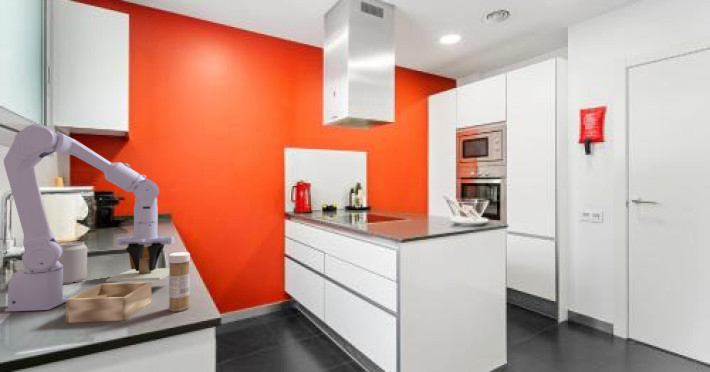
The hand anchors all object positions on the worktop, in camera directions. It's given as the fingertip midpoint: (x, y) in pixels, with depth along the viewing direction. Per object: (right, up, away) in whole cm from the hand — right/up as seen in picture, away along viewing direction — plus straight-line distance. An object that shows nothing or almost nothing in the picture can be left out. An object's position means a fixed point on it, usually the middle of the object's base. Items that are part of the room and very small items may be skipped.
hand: (145, 270), depth 95 cm
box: (+2, -6, -16) cm, 17 cm away
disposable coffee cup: (-11, -6, +17) cm, 21 cm away
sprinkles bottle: (+17, -6, -14) cm, 23 cm away
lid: (0, -1, -1) cm, 1 cm away
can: (-28, -6, +9) cm, 30 cm away
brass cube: (0, -6, -18) cm, 19 cm away
